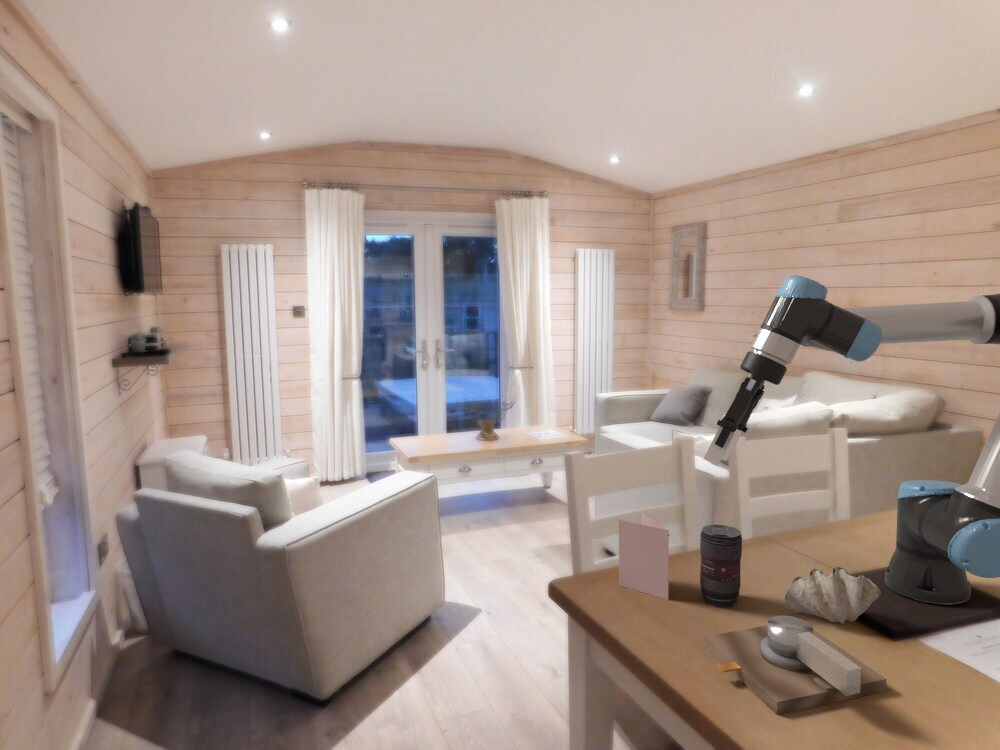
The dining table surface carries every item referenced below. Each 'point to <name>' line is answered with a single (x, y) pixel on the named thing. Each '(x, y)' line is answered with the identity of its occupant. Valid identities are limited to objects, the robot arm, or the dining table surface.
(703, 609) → the dining table surface
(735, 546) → the camera lens
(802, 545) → the dining table surface
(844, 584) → the seashell
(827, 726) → the dining table surface
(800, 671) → the mount
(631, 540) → the greeting card
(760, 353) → the robot arm
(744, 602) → the dining table surface
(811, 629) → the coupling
